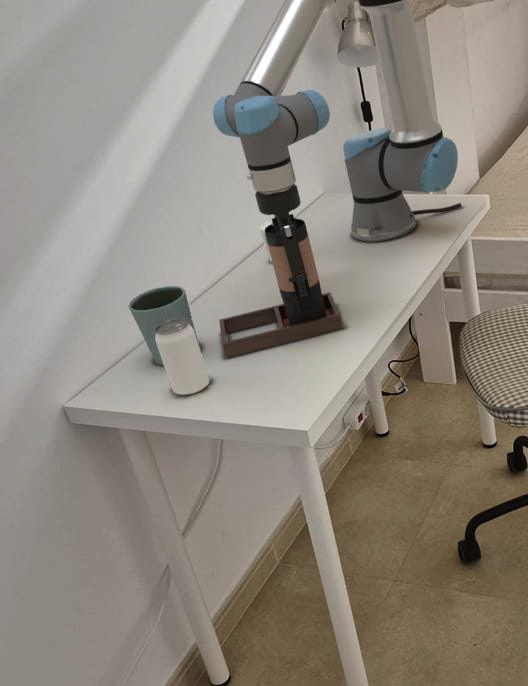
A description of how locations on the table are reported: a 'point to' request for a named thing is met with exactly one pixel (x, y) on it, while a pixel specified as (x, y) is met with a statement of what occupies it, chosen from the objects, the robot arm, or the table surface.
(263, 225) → the milkshake
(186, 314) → the green tapered cup
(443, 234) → the table surface
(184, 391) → the can
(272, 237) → the travel mug
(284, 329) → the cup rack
